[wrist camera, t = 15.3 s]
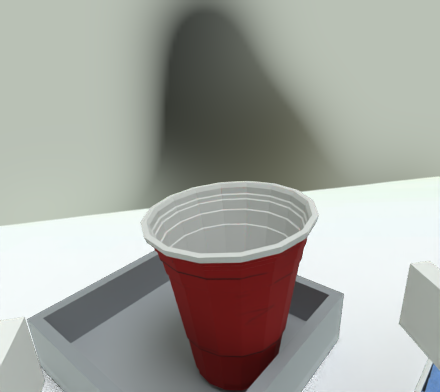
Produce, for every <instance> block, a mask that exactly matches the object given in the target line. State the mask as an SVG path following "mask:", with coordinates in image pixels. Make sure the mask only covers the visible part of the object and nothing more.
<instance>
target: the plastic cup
mask: <svg viewBox="0 0 440 392" xmlns="http://www.w3.org/2000/svg"><path fill="white" fill-rule="evenodd" d="M318 216H319V215H318V212H317V209H316V206H315V203H314V201H313V200H312V199H310V198H309V197H307V196H306V195H304V194H303V193H301V192H300V191H298V190H295V189H292V188H289V187H285V186H282V185H278V184H274V183H263V182H252V181H239V182H222V183H221V182H220V183H215V184H209V185H204V186H199V187H193V188H190V189H188V190H185V191H182V192H179V193H176V194H173V195H171V196H168V197H167V198H165V199H163V200H162V201H160V202H159V203H157V204H155V205H154V206H152V207H151V208H150V209H149V210H148V212H147V213H146V215H145V216H144V218H143V219H142V221H141V227H142V231H143V235H144V238H145V240H146V242H147V243H148V244H150V245H151V246H152V247H154V248H155V251H156V252H157V253H158V255H159V258H160V260H161V261H162V262H163V265H164V268H165V271H166V274H168V276H169V279H170V282H171V286H172V289H173V292H174V296H175V299H176V302H177V306H178V309H179V312H180V316H181V319H182V322H183V326H184V329H185V332H186V335H187V338H188V339H189V343H190V346H191V350H192V354H193V357H194V360H195V364H196V367H197V368H198V369H199V372H200V374H201V375H202V376H203V377H204V378H205V379H206V380H207V381H208V382H209V383H210V384H212V385H214V386H217V387H219V388H222V389H224V390H240V391H241V390H245V389H248V388H249V387H250V386H251V385H252V384H253V383H254V382H255V380H256V379H257V378H258V377H259V376H260V375H261V373H262V372H263V371H264V370H265V369H266V368H267V367H268V365H269V364H270V363H271V362H272V361H273V360H274V358H275V357H276V356H277V355H278V354H279V349H280V344H281V339H282V335H283V332H284V330H285V328H286V323H287V318H288V314H289V309H290V304H291V299H292V295H293V290H294V285H295V281H296V276H297V271H298V267H299V262H300V261H301V259H302V254H303V249H304V246H305V245H306V241H307V237H308V235H309V233H310V232H311V230H312V228H313V227H314V225H315V224H316V222H317V219H318Z"/></svg>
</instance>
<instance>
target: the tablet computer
mask: <svg viewBox="0 0 440 392" xmlns="http://www.w3.org/2000/svg"><path fill="white" fill-rule="evenodd" d="M414 392H440V370H439V369H438V368H437V367H436V366H435V365H434V363H433V362H432V361H431V360H430V359H428V361H427V363H426V365H425V368H424V370H423V372H422V375H421V377H420V379H419V382H418V384H417V386H416V388H415V390H414Z"/></svg>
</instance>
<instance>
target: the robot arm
mask: <svg viewBox="0 0 440 392" xmlns="http://www.w3.org/2000/svg"><path fill="white" fill-rule="evenodd" d="M399 324H400V325H401V327H402V328H403V329H404V330H405V331H406V332H407V333H408V335H409V336H410V337H411V338H412V339H413V340H414V342H415V343H416V344H417V345H418V346H419V347H420V348H421V350H422V351H423V352H424V353H425V354H426V355H427V357H428V358H429V359H430V360H431V361H432V362H433V363H434V365H435V366H436V367H437V368H438V369H439V370H440V269H439V268H438V267H437V266H436V265H434V264H433V263H432V262H430V261H425V262H418V263H411V264H410V268H409V273H408V278H407V284H406V289H405V294H404V299H403V305H402V310H401V315H400V321H399ZM44 382H45V379H44V376H43V373H42V370H41V366H40V363H39V360H38V357H37V354H36V351H35V348H34V345H33V342H32V339H31V336H30V333H29V330H28V326H27V323H26V320H25V317H21V318H14V319H6V320H0V392H41V391H42V388H43V385H44Z"/></svg>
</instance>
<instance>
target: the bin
mask: <svg viewBox="0 0 440 392" xmlns="http://www.w3.org/2000/svg"><path fill="white" fill-rule="evenodd" d="M343 298H344V294H343V293H341V292H338V291H336V290H333V289H331V288H328V287H326V286H323V285H321V284H318V283H316V282H313V281H311V280H308V279H306V278H303V277H301V276H298V275H297V276H296V281H295V285H294V290H293V295H292V299H291V304H290V309H289V314H288V318H287V323H286V328H285V330H284V332H283V335H282V339H281V344H280V349H279V354H278V355H277V356H276V357H275V358H274V360H273V361H272V362H271V363H270V364H269V365H268V367H267V368H266V369H265V370H264V371H263V372H262V373H261V375H260V376H259V377H258V378H257V379H256V380H255V382H254V383H253V384H252V385H251V386H250V387H249V388H248V389H245V390H241V391H240V390H224V389H222V388H219V387H217V386H214V385H212V384H210V383H209V382H208V381H207V380H206V379H205V378H204V377H203V376H202V375H201V374H200V372H199V369H198V368H197V367H196V364H195V360H194V357H193V354H192V350H191V346H190V343H189V339H188V338H187V335H186V332H185V329H184V326H183V322H182V319H181V316H180V312H179V309H178V306H177V302H176V299H175V296H174V292H173V289H172V286H171V282H170V279H169V276H168V274H166V271H165V268H164V265H163V262H162V261H161V260H160V258H159V255H158V253H157V252H156V251H153V252H151V253H149V254H147V255H145V256H143V257H142V258H140V259H138V260H136V261H134V262H132V263H130V264H129V265H127V266H125V267H123V268H121V269H119V270H117V271H116V272H114V273H112V274H110V275H108V276H106V277H104V278H103V279H101V280H99V281H97V282H95V283H93V284H92V285H90V286H88V287H86V288H84V289H82V290H80V291H79V292H77V293H75V294H73V295H71V296H69V297H67V298H66V299H64V300H62V301H60V302H58V303H56V304H54V305H53V306H51V307H49V308H47V309H45V310H43V311H41V312H40V313H38V314H36V315H34V316H32V317H30V318H29V319H27V322H28V325H29V328H30V332H31V335H32V338H33V342H34V345H35V348H36V352H37V355H38V359H39V362H40V365H41V367H42V368H43V369H44V370H45V371H46V372H47V373H48V374H49V376H50V377H51V378H52V379H53V380H54V381H55V382H56V383H57V384H58V385H59V386H60V388H61V389H62V390H63V391H64V392H301V391H302V390H303V388H304V387H305V386H306V384H307V383H308V381H309V380H310V379H311V377H312V376H313V374H314V373H315V372H316V370H317V369H318V367H319V366H320V365H321V363H322V362H323V360H324V359H325V358H326V356H327V355H328V353H329V352H330V351H331V349H332V348H333V346H334V345H335V343H336V342H337V341H338V339H339V331H340V322H341V314H342V306H343Z"/></svg>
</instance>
